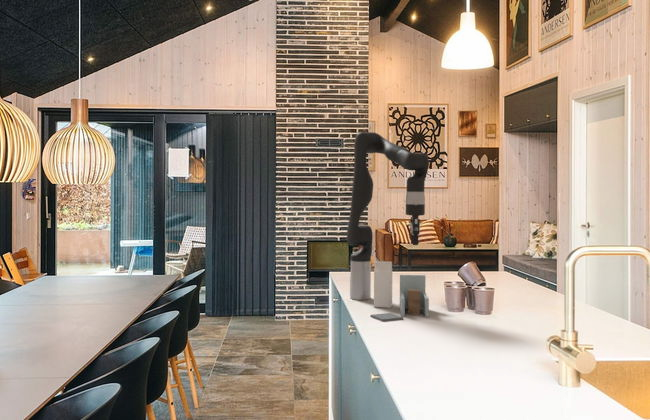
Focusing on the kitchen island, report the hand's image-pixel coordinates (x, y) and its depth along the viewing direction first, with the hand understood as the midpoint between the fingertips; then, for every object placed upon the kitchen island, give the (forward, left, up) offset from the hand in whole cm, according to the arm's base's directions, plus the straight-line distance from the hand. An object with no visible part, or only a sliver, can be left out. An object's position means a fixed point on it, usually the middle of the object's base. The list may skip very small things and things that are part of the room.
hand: (414, 243), depth 226 cm
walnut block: (0, 0, -28) cm, 28 cm away
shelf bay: (0, 0, -28) cm, 28 cm away
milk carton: (-17, -4, -28) cm, 33 cm away
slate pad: (+4, -15, -28) cm, 32 cm away
